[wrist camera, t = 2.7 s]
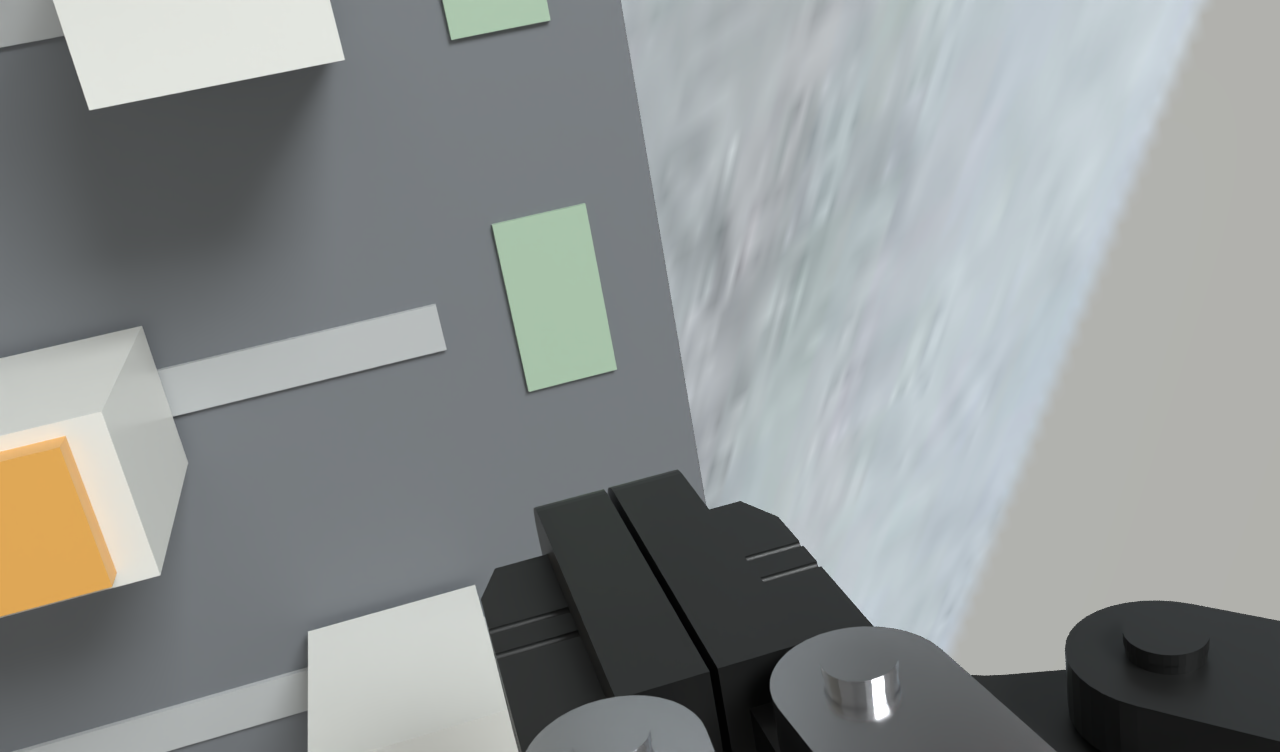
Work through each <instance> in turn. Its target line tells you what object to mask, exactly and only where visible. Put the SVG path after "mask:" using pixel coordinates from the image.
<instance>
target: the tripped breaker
mask: <svg viewBox="0 0 1280 752" xmlns="http://www.w3.org/2000/svg"><path fill="white" fill-rule="evenodd" d="M187 466H188V461H187V458H186V455H185V452H184V449H183V446H182V443H181V440H180V437H179V434H178V431H177V428H176V425H175V422H174V419H173V416H172V413H171V411H170V408H169V405H168V402H167V399H166V396H165V393H164V390H163V387H162V384H161V381H160V378H159V375H158V372H157V369H156V366H155V363H154V360H153V357H152V354H151V351H150V348H149V345H148V342H147V339H146V336H145V333H144V330H143V327H142V326H139V327H134V328H130V329H126V330H121V331H117V332H113V333H108V334H104V335H100V336H95V337H91V338H87V339H82V340H78V341H74V342H69V343H65V344H60V345H56V346H52V347H47V348H43V349H39V350H34V351H30V352H26V353H21V354H17V355H13V356H8V357H4V358H0V618H3V617H6V616H10V615H14V614H18V613H21V612H25V611H29V610H32V609H36V608H40V607H44V606H47V605H51V604H55V603H59V602H62V601H66V600H70V599H74V598H77V597H81V596H85V595H89V594H92V593H96V592H100V591H104V590H107V589H111V588H115V587H119V586H122V585H126V584H130V583H134V582H137V581H141V580H145V579H149V578H152V577H156V576H160V575H161V571H162V567H163V563H164V559H165V555H166V551H167V547H168V543H169V539H170V535H171V531H172V526H173V522H174V518H175V514H176V510H177V506H178V502H179V498H180V494H181V490H182V486H183V482H184V478H185V474H186V470H187Z"/></svg>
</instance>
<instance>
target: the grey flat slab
mask: <svg viewBox="0 0 1280 752" xmlns="http://www.w3.org/2000/svg"><path fill="white" fill-rule="evenodd" d="M330 3H331V6H332V10H333V14H334V18H335V22H336V26H337V30H338V34H339V38H340V42H341V46H342V50H343V54H344V58H345V60H342V61H337V62H332V63H327V64H322V65H317V66H312V67H307V68H301V69H296V70H291V71H286V72H281V73H276V74H271V75H266V76H261V77H256V78H251V79H246V80H241V81H236V82H231V83H226V84H220V85H215V86H210V87H205V88H200V89H195V90H190V91H185V92H180V93H175V94H170V95H165V96H160V97H155V98H150V99H145V100H139V101H134V102H129V103H124V104H119V105H114V106H109V107H104V108H99V109H94V110H89V108H88V105H87V102H86V99H85V96H84V93H83V90H82V87H81V84H80V81H79V78H78V75H77V72H76V69H75V66H74V63H73V60H72V57H71V54H70V51H69V48H68V45H67V42H66V39H65V35H64V32H63V29H62V26H61V23H60V20H59V17H58V14H57V11H56V8H55V5H54V2H53V0H0V358H4V357H8V356H13V355H17V354H21V353H26V352H30V351H34V350H39V349H43V348H47V347H52V346H56V345H60V344H65V343H69V342H74V341H78V340H82V339H87V338H91V337H95V336H100V335H104V334H108V333H113V332H117V331H121V330H126V329H130V328H134V327H139V326H142V327H143V330H144V333H145V336H146V339H147V342H148V345H149V348H150V351H151V354H152V357H153V360H154V363H155V366H156V369H157V372H158V375H159V378H160V381H161V384H162V387H163V390H164V393H165V396H166V399H167V402H168V405H169V408H170V411H171V413H172V416H173V419H174V422H175V425H176V428H177V431H178V434H179V437H180V440H181V443H182V446H183V449H184V452H185V455H186V458H187V461H188V466H187V470H186V474H185V478H184V482H183V486H182V490H181V494H180V498H179V502H178V506H177V510H176V514H175V518H174V522H173V526H172V531H171V535H170V539H169V543H168V547H167V551H166V555H165V559H164V563H163V567H162V571H161V575H160V576H156V577H152V578H149V579H145V580H141V581H137V582H134V583H130V584H126V585H122V586H119V587H115V588H111V589H107V590H104V591H100V592H96V593H92V594H89V595H85V596H81V597H77V598H74V599H70V600H66V601H62V602H59V603H55V604H51V605H47V606H44V607H40V608H36V609H32V610H29V611H25V612H21V613H18V614H14V615H10V616H6V617H3V618H0V752H308V631H312V630H315V629H319V628H323V627H326V626H330V625H333V624H337V623H340V622H344V621H348V620H351V619H355V618H358V617H362V616H365V615H369V614H372V613H376V612H380V611H383V610H387V609H390V608H394V607H397V606H401V605H404V604H408V603H412V602H415V601H419V600H422V599H426V598H429V597H433V596H437V595H440V594H444V593H447V592H451V591H454V590H458V589H461V588H465V587H469V586H472V585H475V586H476V590H477V594H478V597H479V601H480V605H481V608H482V612H483V616H484V620H485V623H486V619H485V615H484V611H483V607H482V603H481V598H482V596H483V593H484V591H485V589H486V587H487V585H488V582H489V580H490V578H491V576H492V574H493V572H494V569H495V568H498V567H502V566H506V565H509V564H513V563H517V562H520V561H524V560H528V559H531V558H535V557H539V556H542V551H541V547H540V542H539V538H538V533H537V528H536V523H535V517H534V507H538V506H542V505H546V504H550V503H553V502H557V501H561V500H565V499H568V498H572V497H576V496H580V495H583V494H587V493H591V492H595V491H598V490H602V489H604V490H605V491H606V493H607V494H608V488H609V487H613V486H616V485H620V484H624V483H628V482H632V481H635V480H639V479H643V478H647V477H650V476H654V475H658V474H662V473H665V472H669V471H673V470H677V469H678V470H679V471H680V472H681V473H682V474H683V475H684V477H685V478H686V479H687V481H688V482H689V483H690V485H691V486H692V487H693V489H694V490H695V491H696V493H697V494H698V495H699V497H700V498H701V499H702V501H703V502H704V503H705V505H706V502H705V496H704V490H703V484H702V478H701V473H700V467H699V461H698V455H697V449H696V443H695V437H694V431H693V425H692V419H691V413H690V407H689V402H688V396H687V390H686V384H685V378H684V372H683V366H682V360H681V354H680V348H679V342H678V337H677V331H676V325H675V319H674V313H673V307H672V301H671V295H670V289H669V283H668V277H667V271H666V266H665V260H664V254H663V248H662V242H661V236H660V230H659V224H658V218H657V212H656V206H655V201H654V195H653V189H652V183H651V177H650V171H649V165H648V159H647V153H646V147H645V141H644V135H643V130H642V124H641V118H640V112H639V106H638V100H637V94H636V88H635V82H634V76H633V70H632V65H631V59H630V53H629V47H628V41H627V35H626V29H625V23H624V17H623V11H622V5H621V0H330ZM486 627H487V624H486ZM487 631H488V628H487ZM488 634H489V632H488ZM489 638H490V636H489ZM490 642H491V640H490ZM491 646H492V644H491ZM492 649H493V648H492ZM493 653H494V652H493ZM494 657H495V656H494Z"/></svg>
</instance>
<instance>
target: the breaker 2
mask: <svg viewBox="0 0 1280 752" xmlns="http://www.w3.org/2000/svg"><path fill="white" fill-rule="evenodd" d="M308 752H518V748H517V745H516V741H515V737H514V733H513V730H512V725H511V721H510V717H509V713H508V709H507V705H506V701H505V697H504V693H503V689H502V685H501V681H500V677H499V672H498V668H497V664H496V660H495V657H494V653H493V649H492V646H491V642H490V638H489V634H488V631H487V627H486V623H485V620H484V616H483V612H482V608H481V605H480V601H479V597H478V594H477V590H476V586H475V585H472V586H469V587H465V588H461V589H458V590H454V591H451V592H447V593H444V594H440V595H437V596H433V597H429V598H426V599H422V600H419V601H415V602H412V603H408V604H404V605H401V606H397V607H394V608H390V609H387V610H383V611H380V612H376V613H372V614H369V615H365V616H362V617H358V618H355V619H351V620H348V621H344V622H340V623H337V624H333V625H330V626H326V627H323V628H319V629H315V630H312V631H308Z"/></svg>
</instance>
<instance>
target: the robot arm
mask: <svg viewBox="0 0 1280 752" xmlns="http://www.w3.org/2000/svg"><path fill="white" fill-rule="evenodd" d="M534 517H535V523H536V528H537V533H538V538H539V542H540V547H541V551H542V556H539V557H535V558H531V559H528V560H524V561H520V562H517V563H513V564H509V565H506V566H502V567H498V568H495V569H494V572H493V574H492V576H491V578H490V580H489V582H488V585H487V587H486V589H485V591H484V593H483V596H482V598H481V603H482V607H483V611H484V615H485V619H486V624H487V628H488V632H489V636H490V640H491V644H492V648H493V652H494V656H495V660H496V664H497V668H498V672H499V677H500V681H501V685H502V689H503V693H504V697H505V701H506V705H507V709H508V713H509V717H510V721H511V725H512V730H513V733H514V737H515V741H516V745H517V748H518V752H1280V621H1277V620H1272V619H1266V618H1262V617H1256V616H1251V615H1246V614H1240V613H1235V612H1230V611H1225V610H1220V609H1215V608H1209V607H1204V606H1199V605H1194V604H1188V603H1181V602H1173V601H1138V602H1129V603H1123V604H1119V605H1114V606H1110V607H1107V608H1104V609H1102V610H1099V611H1096V612H1095V613H1093V614H1091V615H1089V616H1087V617H1086V618H1084V619H1083V620H1082V621H1080V622H1079V623H1077V624H1076V626H1075V627H1074V628H1073V629H1072V630H1071V631H1070V633H1069V635H1068V637H1067V640H1066V646H1065V658H1066V670H1057V671H1045V672H1033V673H1021V674H1009V675H992V676H991V675H990V676H981V675H980V676H979V675H970V674H969V673H968V672H966V671H965V670H964V669H963V668H962V667H960V665H959V664H957V663H956V662H955V661H954V660H953V659H952V658H951V657H950V656H949V655H947V654H946V653H945V652H944V651H943V650H942V649H941V648H939V647H938V646H936V645H935V644H934V643H932V642H931V641H929V640H927V639H925V638H923V637H921V636H919V635H916V634H913V633H910V632H907V631H903V630H898V629H894V628H886V627H874V626H873V625H872V624H871V623H870V622H869V621H868V620H867V618H866V617H865V616H864V615H863V614H862V613H861V612H860V610H859V609H858V608H857V607H856V606H855V605H854V604H853V602H852V601H851V600H850V599H849V598H848V597H847V595H846V594H845V593H844V592H843V591H842V590H841V589H840V587H839V586H838V585H837V584H836V583H835V582H834V581H833V579H832V578H831V577H830V576H829V575H828V574H827V573H826V571H825V570H824V569H823V568H822V567H818V565H817V561H816V560H815V559H814V558H813V556H812V555H811V554H810V553H809V552H808V551H807V550H806V548H805V547H804V546H802V547H801V546H800V543H799V540H798V539H797V538H796V537H795V536H794V535H793V533H792V532H791V531H790V530H789V529H788V528H787V527H786V525H785V524H784V523H783V522H782V521H781V520H780V519H779V517H777V516H775V515H772V514H770V513H768V512H765V511H763V510H760V509H758V508H756V507H753V506H751V505H748V504H746V503H743V502H741V501H739V502H735V503H732V504H728V505H724V506H721V507H717V508H713V509H710V510H709V509H708V507H707V506H706V505H705V503H704V502H703V501H702V499H701V498H700V497H699V495H698V494H697V493H696V491H695V490H694V489H693V487H692V486H691V485H690V483H689V482H688V481H687V479H686V478H685V477H684V475H683V474H682V473H681V472H680V471H679V470H678V469H677V470H673V471H669V472H665V473H662V474H658V475H654V476H650V477H647V478H643V479H639V480H635V481H632V482H628V483H624V484H620V485H616V486H613V487H609V488H608V494H607V493H606V491H605V490H604V489H602V490H598V491H595V492H591V493H587V494H583V495H580V496H576V497H572V498H568V499H565V500H561V501H557V502H553V503H550V504H546V505H542V506H538V507H534Z"/></svg>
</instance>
